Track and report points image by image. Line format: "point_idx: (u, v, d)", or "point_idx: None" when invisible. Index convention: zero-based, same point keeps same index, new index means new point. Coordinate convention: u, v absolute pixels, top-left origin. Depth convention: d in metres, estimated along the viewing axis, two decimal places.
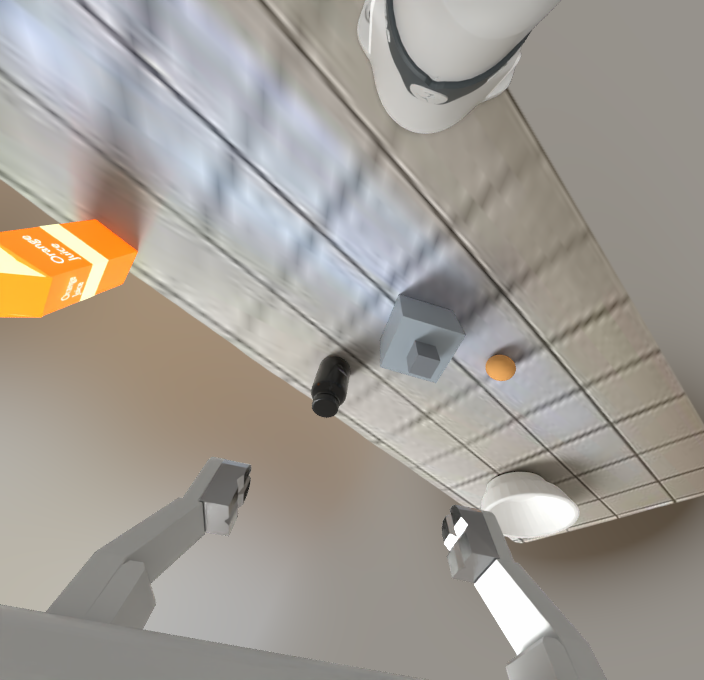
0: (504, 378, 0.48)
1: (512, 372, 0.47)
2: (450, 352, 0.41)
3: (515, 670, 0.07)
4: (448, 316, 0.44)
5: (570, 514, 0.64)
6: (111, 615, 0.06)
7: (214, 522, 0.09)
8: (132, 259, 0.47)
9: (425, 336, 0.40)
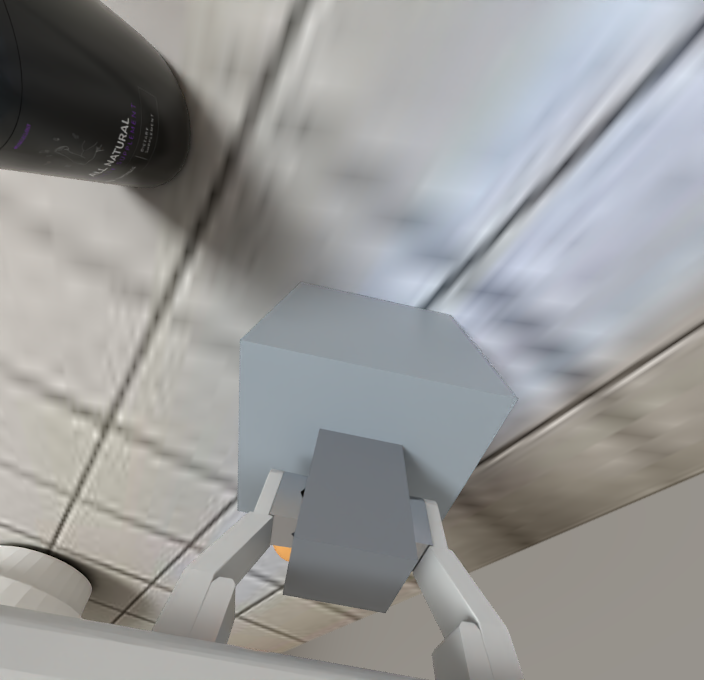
0: (284, 557, 0.23)
1: None
2: None
3: (438, 656, 0.07)
4: None
5: None
6: (213, 633, 0.06)
7: (281, 535, 0.09)
8: None
9: (419, 470, 0.11)
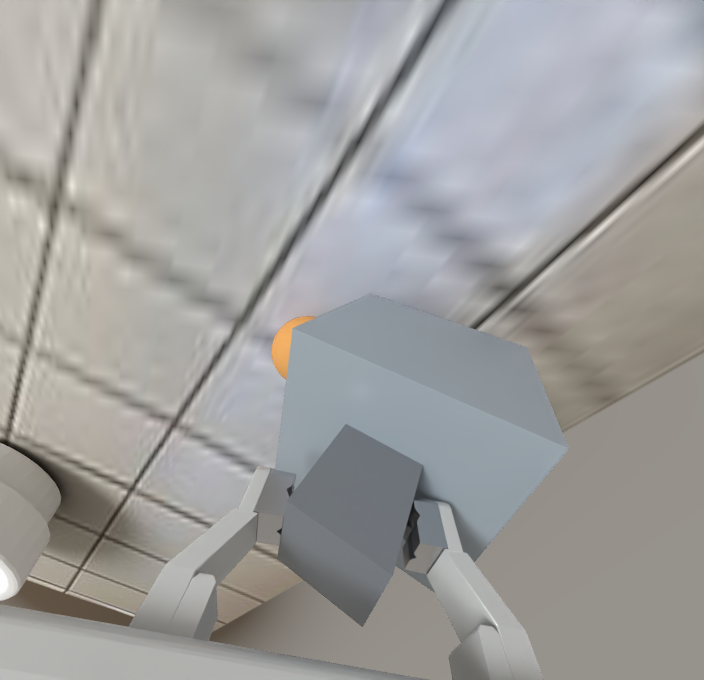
0: (284, 367, 0.17)
1: None
2: None
3: (456, 659, 0.07)
4: None
5: None
6: (191, 629, 0.06)
7: (266, 532, 0.09)
8: None
9: (440, 500, 0.10)
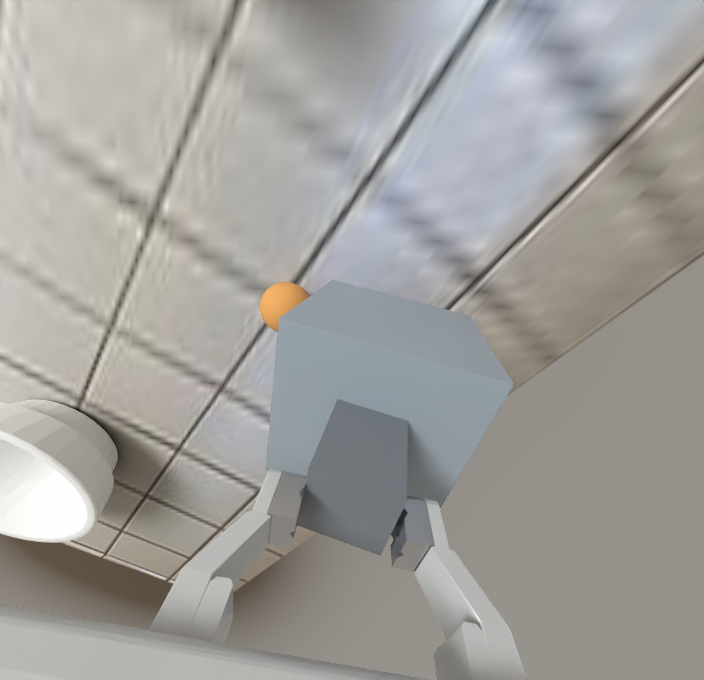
0: None
1: None
2: None
3: (440, 657, 0.07)
4: None
5: (63, 530, 0.36)
6: (211, 633, 0.06)
7: (279, 534, 0.09)
8: None
9: (423, 446, 0.13)
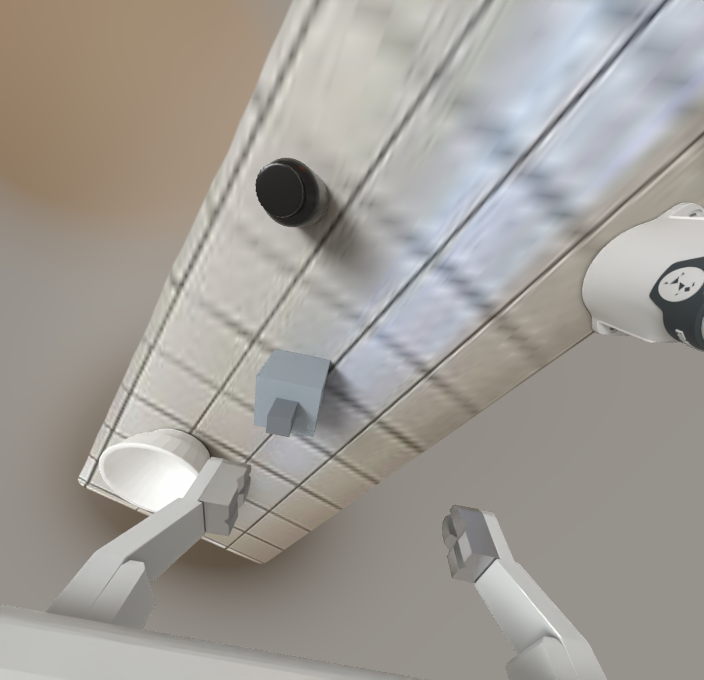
0: None
1: None
2: (292, 429, 0.44)
3: (515, 670, 0.07)
4: (320, 408, 0.48)
5: None
6: (111, 615, 0.06)
7: (214, 522, 0.09)
8: None
9: (304, 409, 0.41)
